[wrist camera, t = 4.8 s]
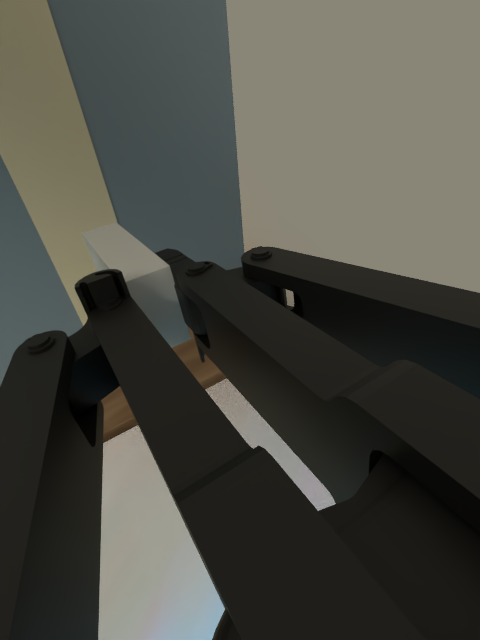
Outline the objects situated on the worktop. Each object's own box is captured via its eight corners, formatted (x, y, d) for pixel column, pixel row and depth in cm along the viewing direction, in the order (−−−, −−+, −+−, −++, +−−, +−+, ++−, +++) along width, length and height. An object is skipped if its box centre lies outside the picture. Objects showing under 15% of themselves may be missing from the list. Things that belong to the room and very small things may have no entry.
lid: (238, 279, 30) (247, 287, 29) (-39, 396, 23) (-39, 411, 22) (211, -29, 18) (224, -32, 17) (-406, 12, 11) (-437, 11, 10)
